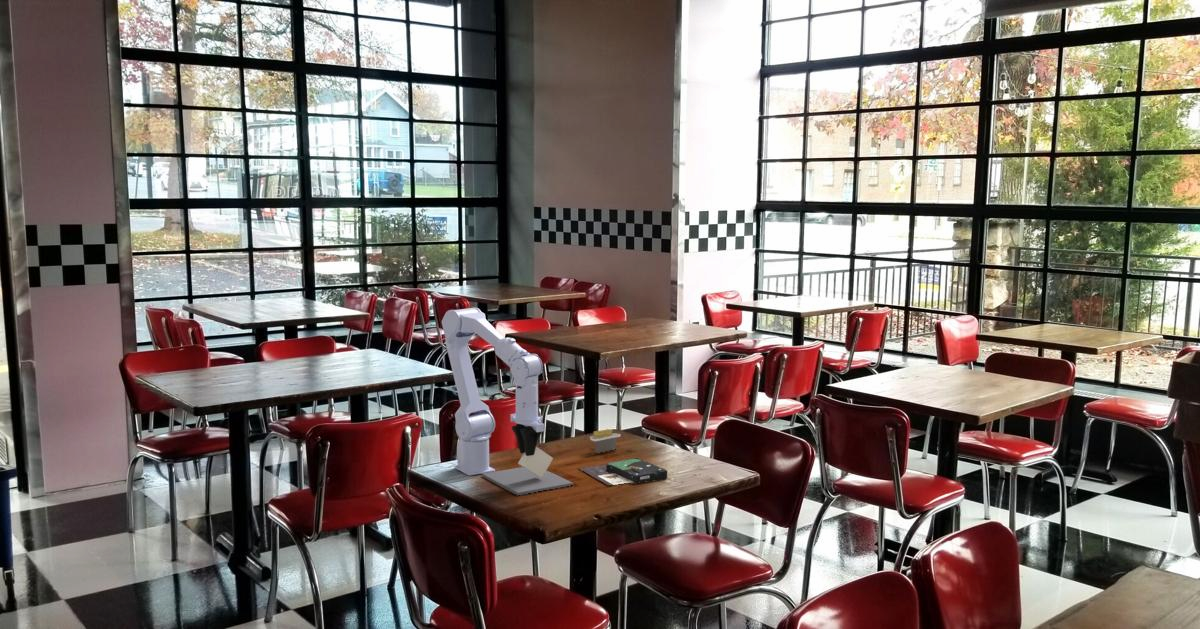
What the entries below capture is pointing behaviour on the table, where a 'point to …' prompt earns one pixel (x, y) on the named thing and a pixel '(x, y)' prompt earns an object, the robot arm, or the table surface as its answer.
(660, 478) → the disk drive
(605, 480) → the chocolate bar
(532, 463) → the tile
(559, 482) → the mat
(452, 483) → the table surface
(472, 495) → the table surface
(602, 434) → the grey rimmed container
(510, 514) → the table surface
